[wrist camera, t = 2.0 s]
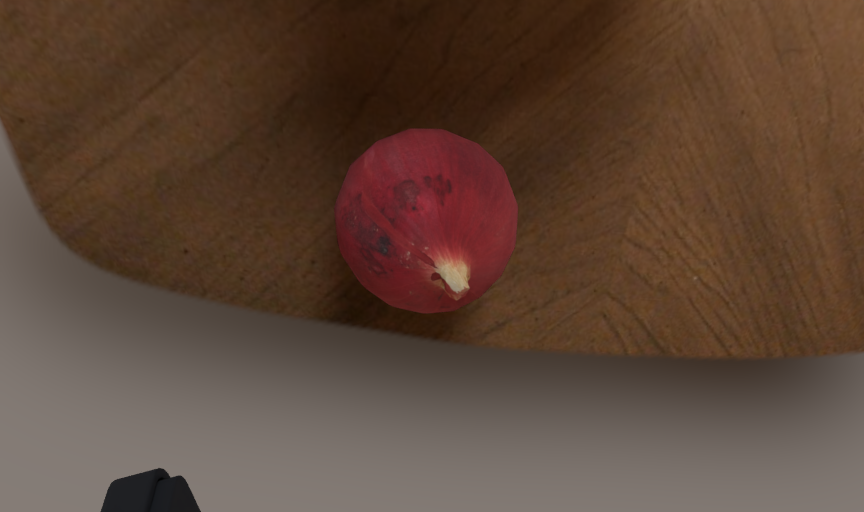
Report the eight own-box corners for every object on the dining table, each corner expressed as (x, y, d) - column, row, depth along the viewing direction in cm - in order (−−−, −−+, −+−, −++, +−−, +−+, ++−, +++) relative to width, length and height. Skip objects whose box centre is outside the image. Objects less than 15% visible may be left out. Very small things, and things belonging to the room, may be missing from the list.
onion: (309, 228, 28) (314, 343, 21) (362, 79, 26) (387, 150, 19) (453, 270, 29) (503, 390, 22) (513, 134, 28) (589, 218, 20)
